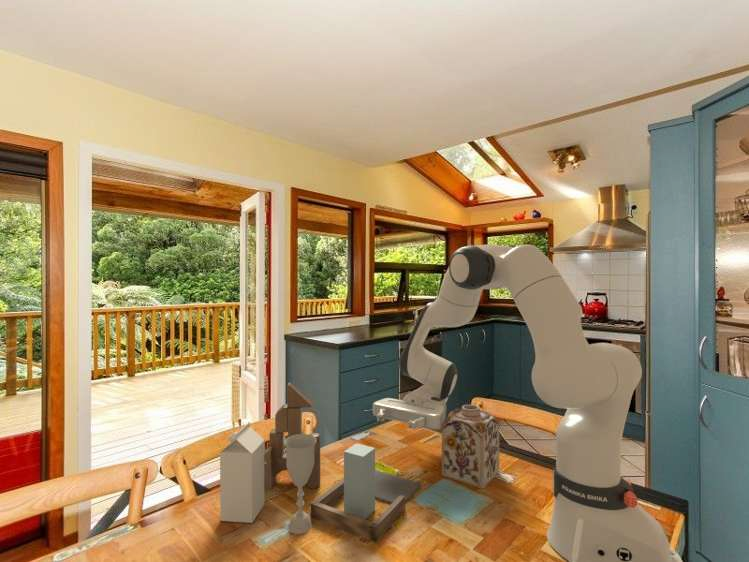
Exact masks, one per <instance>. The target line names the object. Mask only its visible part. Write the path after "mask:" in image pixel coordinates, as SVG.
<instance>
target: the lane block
mask: <svg viewBox="0 0 749 562" xmlns="http://www.w3.org/2000/svg"><path fill="white" fill-rule="evenodd" d="M375 470H376V448H375V447H374V446H368V445H365V444H361V443H358V442H357V443H354V444H353V445H351V446H350V447H349V448H347V449H346V450H344V451H343V479H344V495H343V512H346V513H349V514H351V515H354V516H357V517H359V518H362V519H365V520H367V519H368V518H369V517H370V516H371V515H372V514H373V512H375V511H376V498H375Z"/></svg>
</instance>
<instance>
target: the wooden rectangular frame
mask: <svg viewBox="0 0 749 562" xmlns="http://www.w3.org/2000/svg"><path fill="white" fill-rule="evenodd" d="M342 497H344V478H342V479H341V480H340V481H338V482H337V483H336V484H334V485H333V486H332V487H330V488H329V489H327V490H326V491H325V492H324V493H322V494H321V495H320V496H318V497H317V498H316V499H315V500H313V501H312V502H310V518H312V519H314V520H317V521H319V522H322V523H325V524H327V525H329V526H332V527H334V528H336V529H340V530H342V531H345V532H347V533H349V534H352V535H354V536H357V537H359V538H362V539H364V540H367V541H370V542H372V543H375V544H376V543H377V542H378V541H379V540H380V538H381V537H382V536H383V535H384V534H385V533H386V531H388V529H389V528H390V527H391V526H392V525H393V523H394V522H395V521H397V519H398V518H399V517H400V516H401V515H402V514H403V513H404V512H405V510H406V502H405V496H402V495H400V496H399V497H398V498H397V499H396V500H395V501H394V502H393V503H392V504H391V503H390V505H389V506H388V507H386V509H385V510H384V511H383V512H382V513H381V514H380V515H379V516H378V517H377V518H376V519H375V520H374V521H373V522H372V521H370V520H367V519H362V518H359V517H357V516H354V515H351V514H349V513H346V512H344V510H340V509H338V508H335V507H332V505H334V504H335V503H336V502H337V501H339V500H340V499H341V498H342Z"/></svg>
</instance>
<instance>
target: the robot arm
mask: <svg viewBox="0 0 749 562" xmlns="http://www.w3.org/2000/svg"><path fill="white" fill-rule="evenodd" d="M501 289H507V290H508V292H509V294H510V295H511V298H512V299H513V301H514V303H515V306H516V307H517V309H518V311H519V313H520V315H521V316H522V318H523V320H524V323H525V325H526V326H527V328H528V331H529V332H530V335H531V339H532V342H533V346H534V354H535V361H534V364H533V367H532V369H531V383H532V386H533V389H534V391H535V393H536V395H537V397H539V398H540V399H541V401H543V402H544V403H545V404H546V405H548V406H550V407H553V408H557V409H566V411H565V414H564V416H563V417H562V419H560V421H559V423H558V425H557V428H556V441H555V442H556V445H555V446H556V447H555V448H556V454H555V456H556V457H555V458H556V460H555V461H556V463H555V464H554V468H553V472H552V474H553V475H552V491H553V495H554V502H553V509H552V515H551V519H550V523H549V525H548V528H547V531H546V537H547V541H548V542H549V544H550V546H551V548H552V549H554V550H555V551H556V552H557V554H559V555H560V556H561V557H562V558H564V559H565V560H567V561H568V562H684V561H683V560H682V557H681V556H680V555H679V554H678V552H677V551H676V550H675V549H674V548H673V547H671V546H672V545H671V546H670V543H669V539H668V537H667V535H666V531H665V530H664V528H663V526H662V524H660V522H659V520H657V519H656V518H654V517H653V516H652V515H650V513H648V512H647V511H646V510H645V509H643V507H642V506H640V505H639V504H638V498H637V495H636V494H635V493H634V487H633V486H632V483H631V481H630V478H627V480H625V479H624V478H623V477H622V476H621V474H622V473H621V472H622V471H621V470H622V469H621V468H622V441H623V434H624V429H625V424H626V421H627V417H628V413H629V409H630V405H631V400H632V397H633V394H634V391H635V389H636V388H637V386H638V384H639V383H640V381H641V380H642V375H643V369H642V365H641V362H640V360H639V358H638V357H637V355H636V354H635V353H634V352H633V351H632V350H630V349H628V348H626V347H624V346H622V345H618V344H615V343H608V342H596V343H590V344H589V342H588V340H587V339H586V336H585V333H584V330H583V327H582V323H581V319H582V316H583V308H582V305H581V304H580V302H579V301H578V300H577V298H576V296H575V295H574V293H573V292H572V290H571V288H570V287H569V286H568V284H567V282H566V280H565V279H564V277H563V276H562V275H561V273H560V272H559V270H558V269H557V268H556V266H555V264H553V262H552V261H551V260H550V259H549V258H548V257H547V256H546V254H544V252H543V251H542V250H541V249H540V248H538V247H537V246H535V245H533V244H520V245H517V246H516V245H502V244H494V243H493V244H491V243H490V244H480V245H479V244H478V245H473V244H472V245H471V244H469V245H467V246H463V247H460V248H458V249H456V250H455V251H454V252H453V253H452V255H451V256H450V260H449V266H448V268H447V270H446V272H445V275H444V276H443V279H442V282H441V285H440V288H439V292H438V296H437V298H436V299H435V300H434V301H432V302H428V303H427V304H426V305H425V306H424V307H423V309H422V311H420V314H419V316H418V318H417V320H416V322H415V324H414V326H413V329H412V330H411V333H410V336H409V338H408V340H407V343H406V344H405V346H404V347H403V349H402V351H401V353H400V355H399V358H398V359H397V360H398V361H397V365H398V368H399V371H400V372H401V374H402V375H403V376H406V377H409V378H410V379H414V380H416V381H417V382H419V383H421V384H422V385H421V386H420V387H418V388H417V389H414V390H412V391H409V393H407V394H405V396H404V397H403V398H402V399H399V398H398V399H397V398H391V397H386V398H385V397H384V398H382V399H379V400H376V401H374V402H373V403H372V414H373V416H374V417H376V420H377V421H378V422H384V421H385V420H386V419H387V420H391V421H396V422H400V423H405V424H408V428H409V429H412V430H416V429H417V428H426V429H427V428H428V429H431V430H440V429H442V428H443V427H442V426H443V424H444V422H445V419H446V418H447V401H448V400H449V397H451V396H452V394H453V393H454V391H455V389H456V386H457V384H458V380H459V373H458V370H457V367H456V364H455V363H453V362H451V361H450V360H447V359H445V358H444V357H442V356H439V355H437V354H435V353H433V352H431V351H429V350H428V349H426V347H424V343H425V342H426V338H427V337H428V334H429V332H430V330H431V328H434V327H436V328H437V327H443V328H458V327H461V326H464V325H467V324H469V323H470V322H471V321H472V320H473V318H474V316H475V314H476V312H477V310H478V307H479V303H480V300H481V295H482V292H483V290H492V291H493V290H501Z"/></svg>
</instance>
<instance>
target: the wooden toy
mask: <svg viewBox="0 0 749 562" xmlns="http://www.w3.org/2000/svg"><path fill="white" fill-rule="evenodd" d="M286 385H287V386H286V387H287V389H286V393H287V395H286V396H287V397H286V398H287V399H286V400H287V403H284V404H282V405H281V406H280V408H279V409H278V410H277V411H276V413H275V414H274V415H275V416H274V417H275V418H274V419H275V421H274V424H275V425H274V426H275V427H274V428H271V430H270V433H269V437H268V439H269V446H268V447H267V448H266V449H264V491H272V489H273V486H274V483H275V481H276V479H277V476H278V474H280V473H281V472H284V471H288V470H287V467H286V452H285V445H284V440H285V433H287V438H288V437H290V436H292V435H297V434H304V432H303V408H312V406H313V403H312V401H311V400H309V398H307V397H306V395H304V394H303V393H302V392H301V391H300V390H299V389H298V388H297V387H296V386H295V385H294V384H292V382H288V384H286ZM308 435H312V436H314V437H315V438H316V439H317V441H316V443H315V445H314V466H313V470H312V473H311V475H310V477H309V479H308V482H307V484H306V485H307V487H308V488H309V489H317V488H319V487H320V486H321V435H320V433H318V432H312V433H308Z"/></svg>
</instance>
